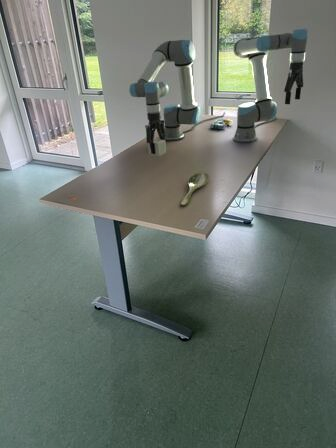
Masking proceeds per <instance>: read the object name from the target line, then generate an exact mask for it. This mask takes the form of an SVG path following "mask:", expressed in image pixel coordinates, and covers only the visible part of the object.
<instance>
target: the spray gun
mask: <svg viewBox="0 0 336 448" xmlns="http://www.w3.org/2000/svg"><path fill="white" fill-rule="evenodd" d="M233 124H234V121H233V120H232V119H228V118H224V117H221V118H216V120H214V121H213V122H212V123H211V124H210V128H211V129H216V130H224V129H226V128H227V127H229V126H230V127H231V126H233Z"/></svg>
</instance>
